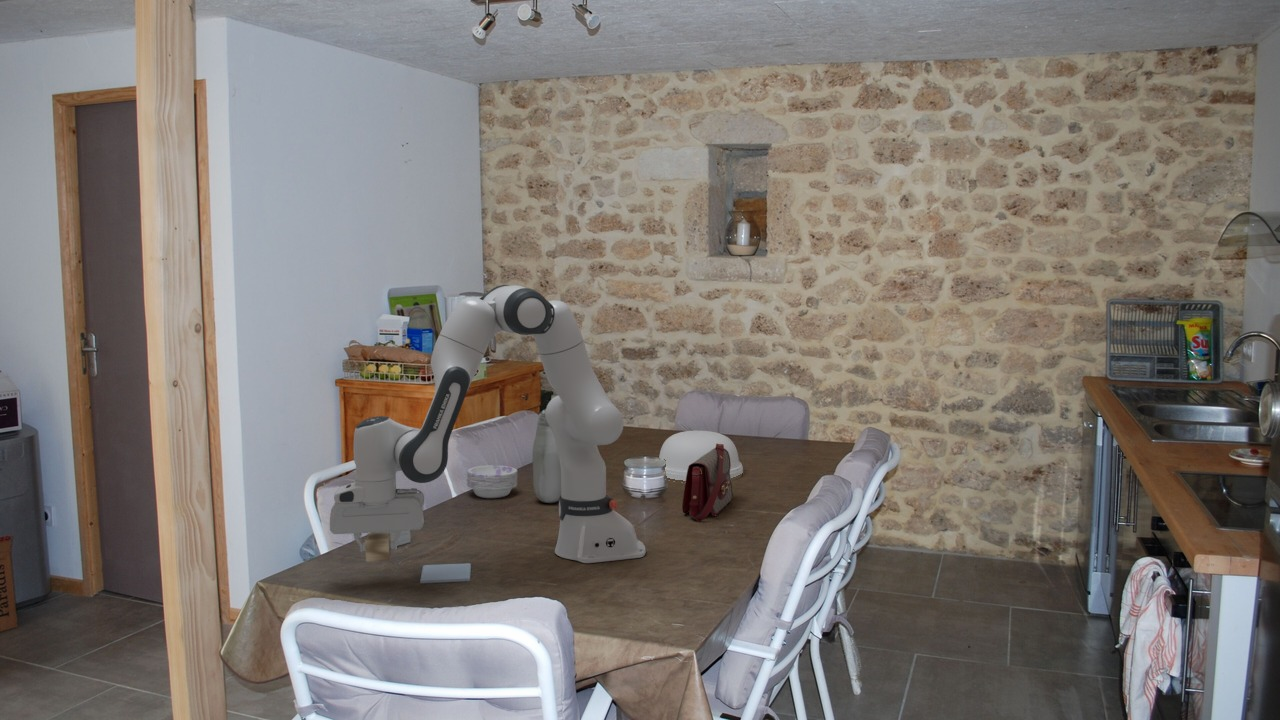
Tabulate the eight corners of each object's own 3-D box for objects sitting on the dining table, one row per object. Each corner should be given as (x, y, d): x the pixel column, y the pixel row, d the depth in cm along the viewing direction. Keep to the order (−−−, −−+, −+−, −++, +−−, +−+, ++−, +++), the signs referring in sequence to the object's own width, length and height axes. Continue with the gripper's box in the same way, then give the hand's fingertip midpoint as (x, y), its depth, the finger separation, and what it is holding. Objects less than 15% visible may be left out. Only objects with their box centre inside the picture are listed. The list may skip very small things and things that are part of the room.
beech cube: (391, 553, 223) (390, 532, 223) (389, 560, 218) (388, 538, 218) (368, 554, 223) (367, 533, 222) (366, 562, 218) (365, 540, 217)
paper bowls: (522, 489, 308) (522, 464, 307) (511, 501, 293) (511, 475, 292) (474, 488, 310) (474, 463, 309) (461, 500, 295) (460, 474, 294)
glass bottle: (562, 507, 287) (562, 412, 284) (528, 505, 289) (528, 410, 286) (571, 498, 297) (571, 406, 294) (539, 496, 299) (538, 405, 296)
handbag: (713, 524, 271) (713, 462, 269) (676, 520, 274) (677, 459, 272) (738, 500, 297) (739, 443, 295) (704, 497, 300) (705, 441, 298)
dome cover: (639, 467, 342) (639, 427, 340) (716, 460, 353) (717, 422, 351) (677, 488, 312) (678, 444, 311) (760, 480, 324) (761, 438, 322)
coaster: (470, 565, 234) (470, 563, 234) (470, 581, 223) (470, 578, 223) (423, 567, 232) (423, 565, 232) (420, 583, 221) (420, 580, 221)
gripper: (424, 484, 223) (426, 543, 225) (331, 488, 220) (334, 548, 222) (422, 491, 217) (425, 552, 219) (326, 495, 214) (329, 557, 216)
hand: (378, 550), depth 220 cm, fingers closed on beech cube, 5 cm apart
